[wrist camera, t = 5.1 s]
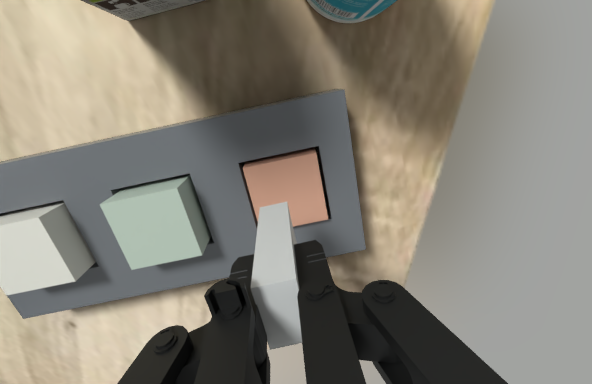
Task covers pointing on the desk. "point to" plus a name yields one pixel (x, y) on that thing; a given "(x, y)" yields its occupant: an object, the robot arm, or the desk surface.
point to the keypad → (208, 184)
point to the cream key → (41, 248)
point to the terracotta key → (288, 184)
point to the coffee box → (138, 7)
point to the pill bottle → (350, 9)
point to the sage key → (158, 221)
